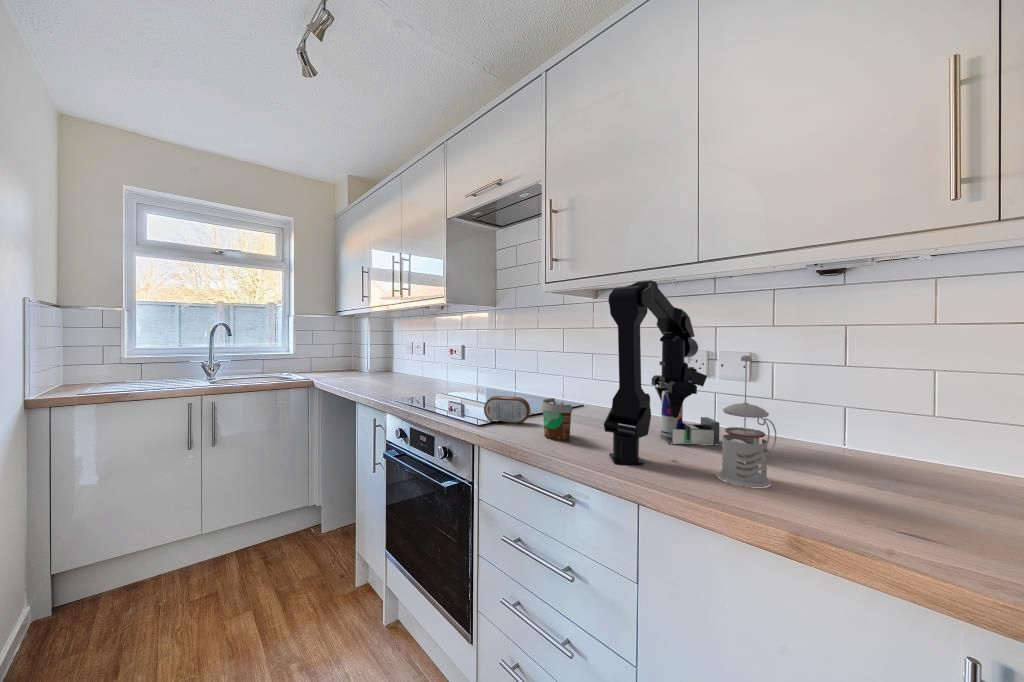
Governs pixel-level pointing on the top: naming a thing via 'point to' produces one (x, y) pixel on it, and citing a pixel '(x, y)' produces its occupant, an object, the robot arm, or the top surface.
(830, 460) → the top surface
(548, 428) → the food container
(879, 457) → the top surface
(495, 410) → the tin
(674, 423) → the energy drink
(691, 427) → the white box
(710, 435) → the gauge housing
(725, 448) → the french press
